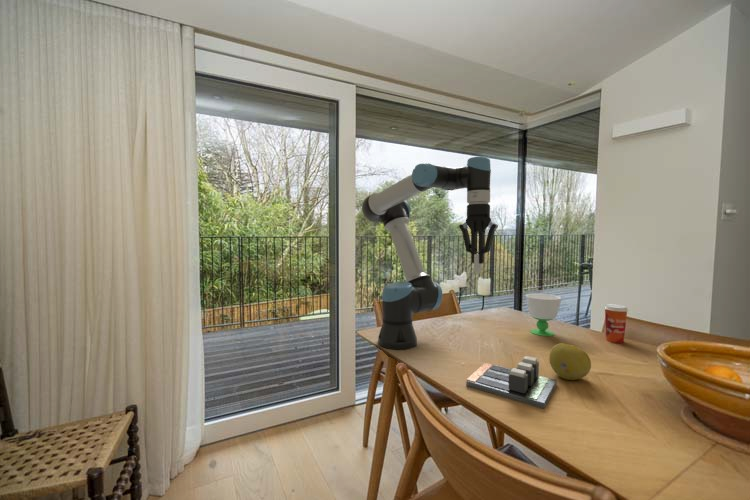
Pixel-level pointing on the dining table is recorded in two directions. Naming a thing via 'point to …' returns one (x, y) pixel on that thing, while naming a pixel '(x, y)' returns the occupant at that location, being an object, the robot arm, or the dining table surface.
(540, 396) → the panel
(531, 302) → the cup
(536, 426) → the dining table surface
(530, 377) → the breaker mid row
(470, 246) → the robot arm
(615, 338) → the paper cup
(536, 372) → the breaker far row
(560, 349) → the fruit
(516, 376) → the block
